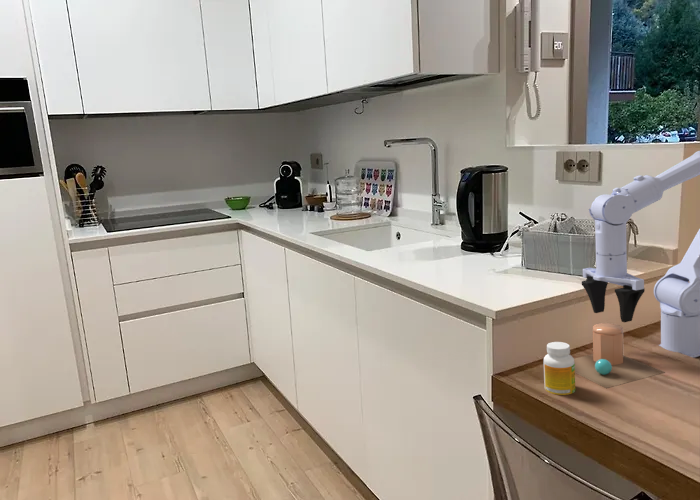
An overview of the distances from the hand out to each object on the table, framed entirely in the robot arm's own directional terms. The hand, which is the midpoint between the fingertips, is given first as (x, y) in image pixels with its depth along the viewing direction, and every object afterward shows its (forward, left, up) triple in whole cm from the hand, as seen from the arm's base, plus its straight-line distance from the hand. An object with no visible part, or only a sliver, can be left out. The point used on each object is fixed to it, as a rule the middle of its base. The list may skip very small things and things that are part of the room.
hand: (612, 316), depth 112 cm
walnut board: (+6, +5, -9) cm, 12 cm away
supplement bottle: (+20, +8, -10) cm, 24 cm away
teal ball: (+9, +7, -7) cm, 13 cm away
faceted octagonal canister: (+3, +2, -8) cm, 9 cm away
